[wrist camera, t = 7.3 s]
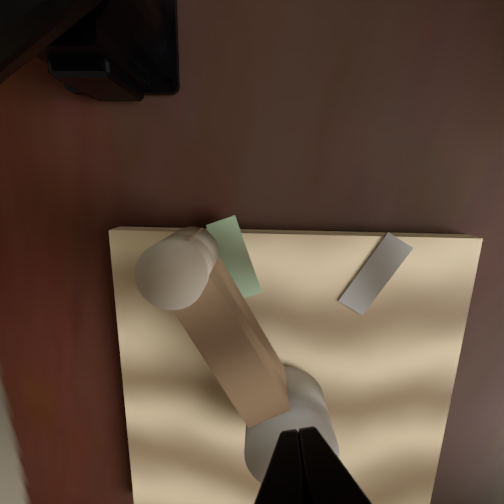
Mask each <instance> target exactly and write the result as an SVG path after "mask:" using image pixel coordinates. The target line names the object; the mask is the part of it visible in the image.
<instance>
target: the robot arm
mask: <svg viewBox="0 0 504 504" xmlns="http://www.w3.org/2000/svg"><path fill="white" fill-rule="evenodd" d="M34 56H35V57H37V58H39V59H41V60H42V61H44V62H46V63H47V65H48V72H49V73H50V74H51V75H52V76H53V77H54V78H55V79H57V80H59V81H61V82H63V83H64V85H65V87H66V89H67V90H69V91H70V92H72V93H75V94H87V95H89V96H91V97H93V98H95V99H97V100H100V101H141V100H142V99H143V98H144V95H175V94H176V93H177V92H178V91H179V87H180V82H179V52H178V23H177V0H0V84H1V83H2V82H4V81H5V80H6V79H7V78H9V77H10V76H11V75H12V74H13V73H15V72H16V71H17V70H18V69H20V68H21V67H22V66H23V65H25V64H26V63H27V62H28V61H29V60H31V59H32V58H33V57H34ZM168 81H173V87H172V88H167V83H168ZM254 504H372V502H371V501H370V500H369V498H368V497H367V496H366V494H365V493H364V492H363V490H362V489H361V488H360V486H359V485H358V483H357V482H356V481H355V479H354V478H353V477H352V475H351V474H350V473H349V471H348V470H347V468H346V467H345V466H344V464H343V463H342V462H341V460H340V459H339V458H338V456H337V455H336V454H335V452H334V451H333V449H332V448H331V447H330V445H329V444H328V443H327V441H326V440H325V439H324V437H323V436H322V434H321V433H320V432H319V430H318V429H317V428H316V427H315V426H310V427H303V428H300V429H299V432H298V430H297V429H290V430H284V431H282V432H281V433H280V435H279V437H278V440H277V443H276V445H275V448H274V451H273V454H272V456H271V459H270V462H269V464H268V467H267V470H266V472H265V475H264V478H263V480H262V483H261V486H260V489H259V491H258V494H257V497H256V499H255V502H254Z"/></svg>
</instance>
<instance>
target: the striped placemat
mask: <svg viewBox="0 0 504 504" xmlns="http://www.w3.org/2000/svg"><path fill="white" fill-rule="evenodd" d="M206 227H207V228H203V229H204V230H206V231H208V232H209V233H210V234H211V235H212V236H213V237H214V238H215V240H216V241H217V243H218V246H219V252H220V255H219V257H220V258H221V260H222V262H223V263H224V265H225V267H226V269H227V270H228V272H229V274H230V275H231V277H232V279H233V280H234V282H235V284H236V286H237V287H238V289H239V291H240V292H241V294H242V296H243V298H244V299H245V301H246V303H247V304H248V306H249V308H250V309H251V311H252V313H253V315H254V316H255V318H256V320H257V321H258V323H259V325H260V327H261V328H262V330H263V332H264V333H265V335H266V337H267V338H268V340H269V342H270V344H271V345H272V347H273V349H274V350H275V352H276V354H277V356H278V357H279V359H280V361H281V362H282V364H283V366H284V367H292V368H297V369H300V370H303V371H305V372H307V373H308V374H310V375H311V376H312V377H314V378H315V380H316V381H317V382H318V383H319V385H320V387H321V389H322V392H323V395H324V399H325V402H326V405H327V409H328V412H329V416H330V419H331V422H332V426H333V429H334V432H335V436H336V439H337V443H338V446H339V459H340V460H341V462H342V463H343V464H344V466H345V467H346V468H347V470H348V471H349V473H350V474H351V475H352V477H353V478H354V479H355V481H356V482H357V483H358V485H359V486H360V488H361V489H362V490H363V492H364V493H365V494H366V496H367V497H368V498H369V500H370V501H371V502H372V504H430V501H431V496H432V491H433V486H434V481H435V476H436V471H437V466H438V461H439V456H440V451H441V446H442V441H443V436H444V431H445V426H446V421H447V416H448V411H449V406H450V401H451V396H452V391H453V386H454V381H455V376H456V371H457V366H458V361H459V356H460V351H461V346H462V341H463V336H464V331H465V326H466V321H467V316H468V311H469V306H470V301H471V296H472V291H473V286H474V280H475V275H476V270H477V265H478V260H479V255H480V250H481V245H482V240H483V239H482V238H478V237H475V236H471V235H467V234H433V233H389V232H344V231H299V230H254V229H240V228H239V225H238V222H237V219H236V217H235V215H234V216H231V217H228V218H225V219H222V220H219V221H216V222H213V223H210V224H207V225H206ZM180 229H182V228H165V227H117V228H114V229H111V230H109V241H110V252H111V263H112V273H113V284H114V295H115V305H116V316H117V327H118V337H119V348H120V359H121V369H122V380H123V391H124V401H125V412H126V423H127V434H128V444H129V455H130V466H131V476H132V487H133V498H134V504H254V502H255V499H256V497H257V494H258V491H259V489H260V486H261V483H260V482H259V481H258V480H256V479H255V478H254V477H253V475H252V474H251V473H250V471H249V470H248V468H247V465H246V463H245V458H244V447H245V431H246V423H245V422H244V420H243V419H242V417H241V416H240V414H239V412H238V411H237V409H236V408H235V406H234V405H233V403H232V402H231V400H230V399H229V397H228V395H227V394H226V392H225V391H224V389H223V388H222V386H221V385H220V383H219V382H218V380H217V378H216V377H215V375H214V374H213V372H212V371H211V369H210V368H209V366H208V365H207V363H206V361H205V360H204V358H203V357H202V355H201V354H200V352H199V351H198V349H197V347H196V346H195V344H194V343H193V341H192V340H191V338H190V337H189V335H188V334H187V332H186V330H185V329H184V327H183V326H182V324H181V323H180V321H179V320H178V318H177V317H176V315H175V313H174V312H173V310H165V309H161V308H158V307H156V306H154V305H152V304H151V303H149V302H148V301H147V300H146V299H145V298H144V297H143V296H142V295H141V293H140V292H139V290H138V288H137V285H136V282H135V266H136V263H137V260H138V259H139V257H140V255H141V254H142V253H143V252H144V251H145V250H146V249H148V248H149V247H151V246H152V245H154V244H156V243H158V242H159V241H161V240H163V239H164V238H166V237H168V236H170V235H171V234H173V233H175V232H176V231H178V230H180Z"/></svg>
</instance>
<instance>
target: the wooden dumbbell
mask: <svg viewBox="0 0 504 504" xmlns="http://www.w3.org/2000/svg"><path fill="white" fill-rule="evenodd" d="M219 255H220V252H219V246H218V243H217V241H216V240H215V238H214V237H213V236H212V235H211V234H210V233H209V232H208V231H206V230H204V229H203V228H199V227H193V226H192V227H185V228H182V229H180V230H178V231H176V232H175V233H173V234H171V235H170V236H168V237H166V238H164V239H163V240H161V241H159V242H158V243H156V244H154V245H152V246H151V247H149V248H148V249H146V250H145V251H144V252H143V253H142V254H141V255H140V257H139V259H138V260H137V263H136V266H135V282H136V285H137V288H138V290H139V292H140V293H141V295H142V296H143V297H144V298H145V299H146V300H147V301H148V302H149V303H151V304H152V305H154V306H156V307H158V308H161V309H165V310H173V312H174V313H175V315H176V317H177V318H178V320H179V321H180V323H181V324H182V326H183V327H184V329H185V330H186V332H187V334H188V335H189V337H190V338H191V340H192V341H193V343H194V344H195V346H196V347H197V349H198V351H199V352H200V354H201V355H202V357H203V358H204V360H205V361H206V363H207V365H208V366H209V368H210V369H211V371H212V372H213V374H214V375H215V377H216V378H217V380H218V382H219V383H220V385H221V386H222V388H223V389H224V391H225V392H226V394H227V395H228V397H229V399H230V400H231V402H232V403H233V405H234V406H235V408H236V409H237V411H238V412H239V414H240V416H241V417H242V419H243V420H244V422H245V423H246V431H245V447H244V458H245V463H246V465H247V468H248V470H249V471H250V473H251V474H252V475H253V477H254V478H255V479H256V480H258V481H259V482H260V483H262V480H263V478H264V475H265V472H266V470H267V467H268V464H269V462H270V459H271V456H272V454H273V451H274V448H275V445H276V443H277V440H278V437H279V435H280V433H281V432H282V431H284V430H290V429H297V430H298V432H299V429H300V428H303V427H310V426H315V427H316V428H317V429H318V430H319V432H320V433H321V434H322V436H323V437H324V439H325V440H326V441H327V443H328V444H329V445H330V447H331V448H332V449H333V451H334V452H335V454H336V455H337V456H338V458H339V446H338V443H337V439H336V436H335V432H334V429H333V426H332V422H331V419H330V416H329V412H328V409H327V405H326V402H325V399H324V395H323V392H322V389H321V387H320V385H319V383H318V382H317V381H316V380H315V378H314V377H312V376H311V375H310V374H308V373H307V372H305V371H303V370H300V369H297V368H292V367H284V366H283V364H282V362H281V361H280V359H279V357H278V356H277V354H276V352H275V350H274V349H273V347H272V345H271V344H270V342H269V340H268V338H267V337H266V335H265V333H264V332H263V330H262V328H261V327H260V325H259V323H258V321H257V320H256V318H255V316H254V315H253V313H252V311H251V309H250V308H249V306H248V304H247V303H246V301H245V299H244V298H243V296H242V294H241V292H240V291H239V289H238V287H237V286H236V284H235V282H234V280H233V279H232V277H231V275H230V274H229V272H228V270H227V269H226V267H225V265H224V263H223V262H222V260H221V258H220V257H219Z"/></svg>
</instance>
